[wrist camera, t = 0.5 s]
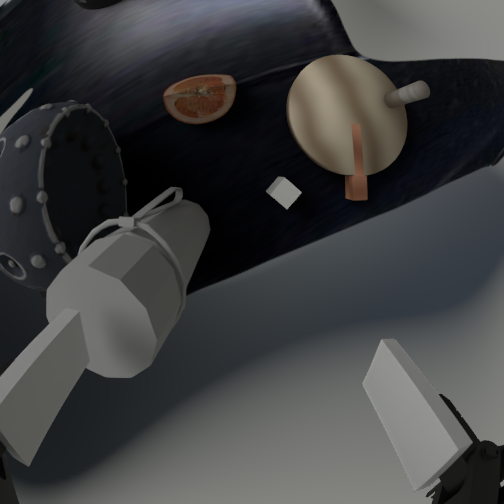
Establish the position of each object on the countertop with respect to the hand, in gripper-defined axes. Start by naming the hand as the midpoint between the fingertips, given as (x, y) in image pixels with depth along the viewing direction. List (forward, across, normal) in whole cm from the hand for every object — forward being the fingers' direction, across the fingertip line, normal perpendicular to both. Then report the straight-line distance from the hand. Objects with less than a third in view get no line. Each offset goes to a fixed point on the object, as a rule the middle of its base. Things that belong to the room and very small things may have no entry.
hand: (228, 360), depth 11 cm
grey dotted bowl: (+27, -20, +4) cm, 33 cm away
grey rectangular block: (+26, +5, +5) cm, 27 cm away
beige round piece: (+25, +13, +16) cm, 32 cm away
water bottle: (+26, -7, 0) cm, 27 cm away
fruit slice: (+27, -6, +16) cm, 32 cm away
